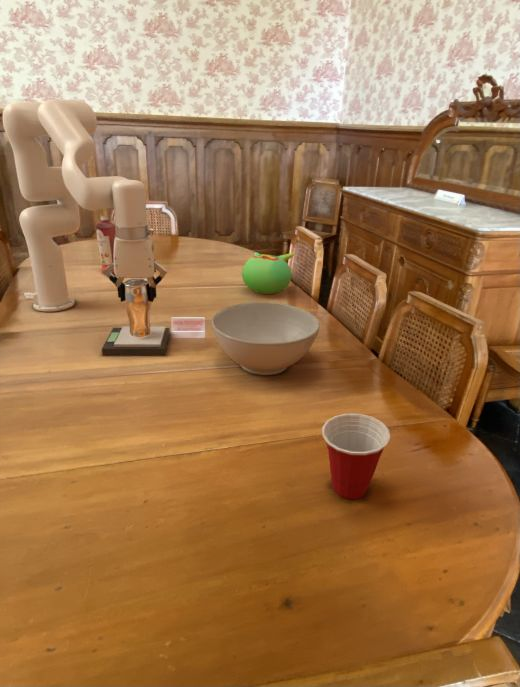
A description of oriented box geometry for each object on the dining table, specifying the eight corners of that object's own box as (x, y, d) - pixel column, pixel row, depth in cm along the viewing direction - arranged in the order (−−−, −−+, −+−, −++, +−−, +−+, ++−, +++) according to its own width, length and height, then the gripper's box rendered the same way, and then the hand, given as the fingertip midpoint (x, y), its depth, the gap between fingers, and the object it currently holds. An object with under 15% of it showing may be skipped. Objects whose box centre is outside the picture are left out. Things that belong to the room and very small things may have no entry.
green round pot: (234, 295, 169) (235, 255, 163) (252, 282, 183) (253, 245, 177) (281, 302, 163) (283, 261, 157) (296, 289, 177) (299, 250, 171)
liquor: (123, 272, 190) (117, 201, 178) (109, 277, 184) (101, 203, 172) (111, 269, 193) (103, 199, 181) (96, 273, 187) (88, 201, 176)
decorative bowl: (325, 351, 129) (329, 310, 124) (301, 399, 106) (305, 351, 101) (235, 335, 137) (235, 296, 131) (193, 377, 114) (192, 331, 108)
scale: (102, 355, 123) (101, 345, 122) (113, 333, 135) (112, 324, 134) (164, 355, 124) (163, 345, 123) (170, 333, 137) (169, 325, 135)
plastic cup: (310, 467, 85) (316, 411, 80) (369, 465, 86) (378, 410, 81) (323, 512, 75) (330, 452, 70) (388, 509, 76) (400, 450, 71)
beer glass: (147, 341, 125) (143, 287, 118) (123, 338, 126) (117, 284, 120) (157, 331, 131) (154, 279, 125) (134, 328, 132) (129, 277, 126)
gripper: (169, 230, 121) (172, 295, 128) (100, 228, 119) (107, 295, 127) (165, 236, 114) (169, 305, 122) (92, 235, 113) (100, 305, 120)
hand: (137, 299), depth 124 cm, fingers closed on beer glass, 7 cm apart
